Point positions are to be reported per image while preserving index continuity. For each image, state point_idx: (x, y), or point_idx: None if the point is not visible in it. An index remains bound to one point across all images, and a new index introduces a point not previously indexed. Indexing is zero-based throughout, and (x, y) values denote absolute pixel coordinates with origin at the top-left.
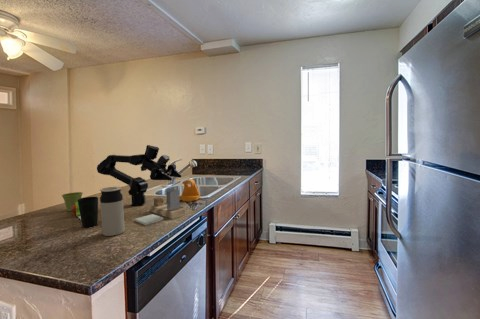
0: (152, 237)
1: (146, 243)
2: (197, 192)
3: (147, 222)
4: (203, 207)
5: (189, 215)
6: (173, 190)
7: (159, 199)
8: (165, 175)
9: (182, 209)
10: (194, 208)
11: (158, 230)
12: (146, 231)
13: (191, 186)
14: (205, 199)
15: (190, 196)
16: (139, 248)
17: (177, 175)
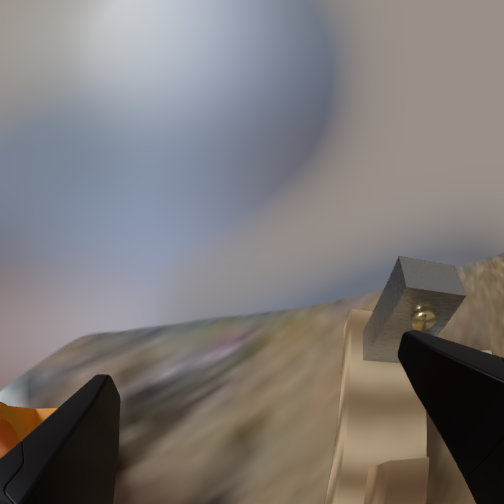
0: (482, 275)
1: (492, 265)
2: (24, 409)
3: (484, 351)
4: (198, 326)
5: (334, 310)
6: (425, 278)
7: (416, 458)
8: (501, 364)
9: (362, 311)
10: (231, 355)
11: (467, 293)
12: (489, 310)
13: (14, 421)
14: (48, 384)
15: None
16: (500, 260)
17: (101, 452)
